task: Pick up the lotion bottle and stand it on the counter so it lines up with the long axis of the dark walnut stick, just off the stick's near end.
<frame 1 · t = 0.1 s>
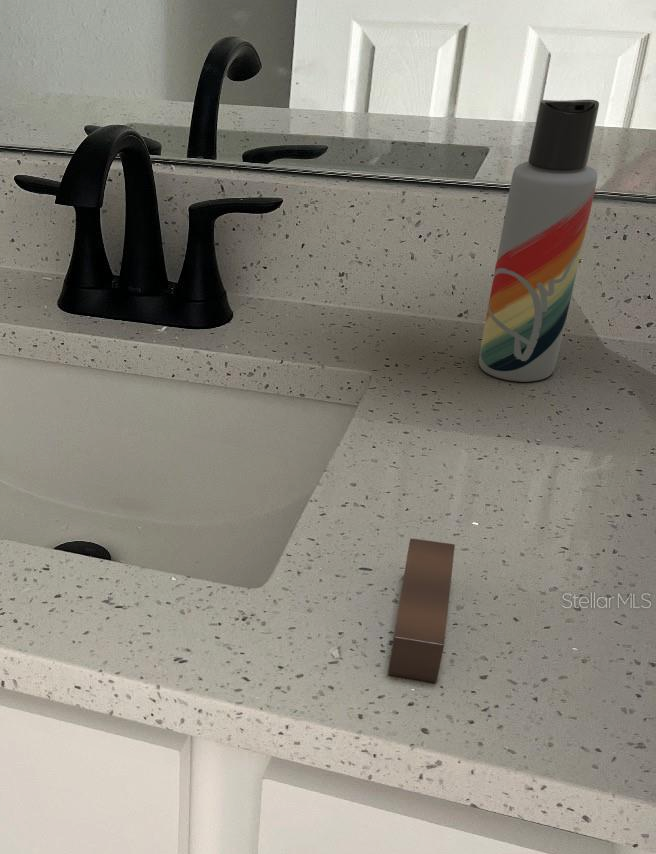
lotion bottle: (515, 370, 93), on the worktop
walnut stick: (419, 624, 66), on the worktop
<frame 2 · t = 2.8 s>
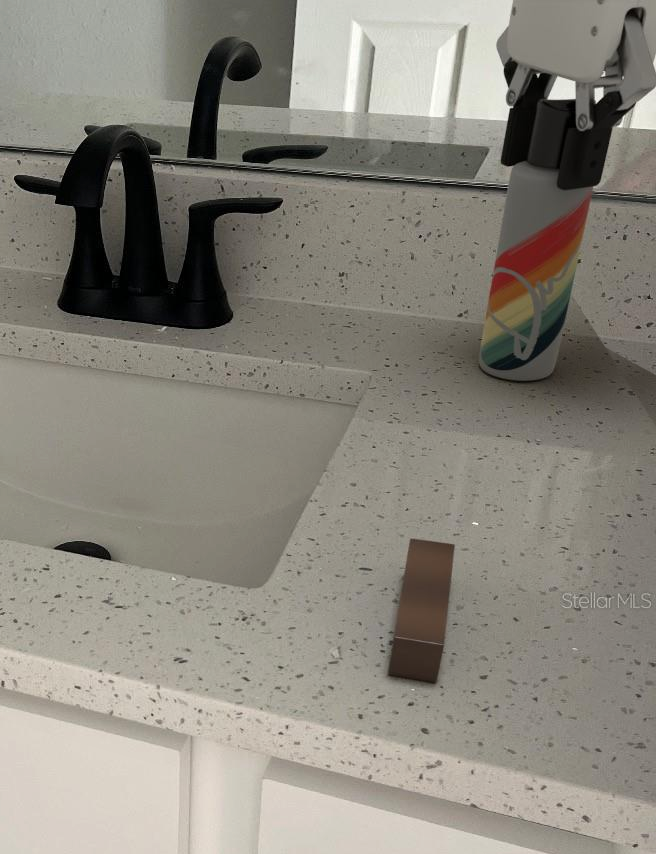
hand: (548, 172, 85), 15 cm above the worktop, tool pointing down, fingers closed on lotion bottle, 5 cm apart
lotion bottle: (515, 369, 93), on the worktop, touching gripper
everything else where it was.
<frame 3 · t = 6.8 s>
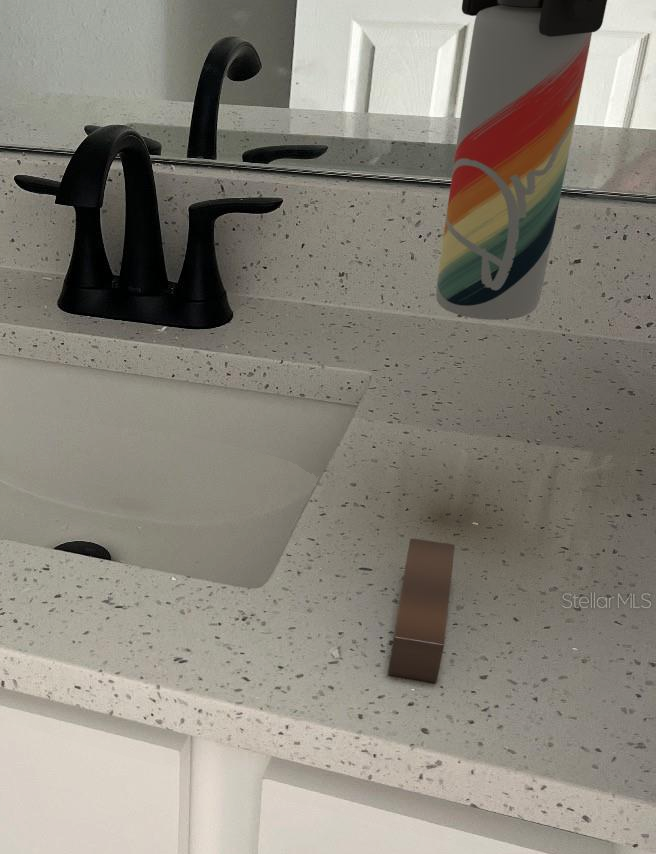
hand: (528, 18, 60), 29 cm above the worktop, tool pointing down, fingers closed on lotion bottle, 5 cm apart
lotion bottle: (485, 307, 68), point 14 cm above the worktop, touching gripper
everything else where it was.
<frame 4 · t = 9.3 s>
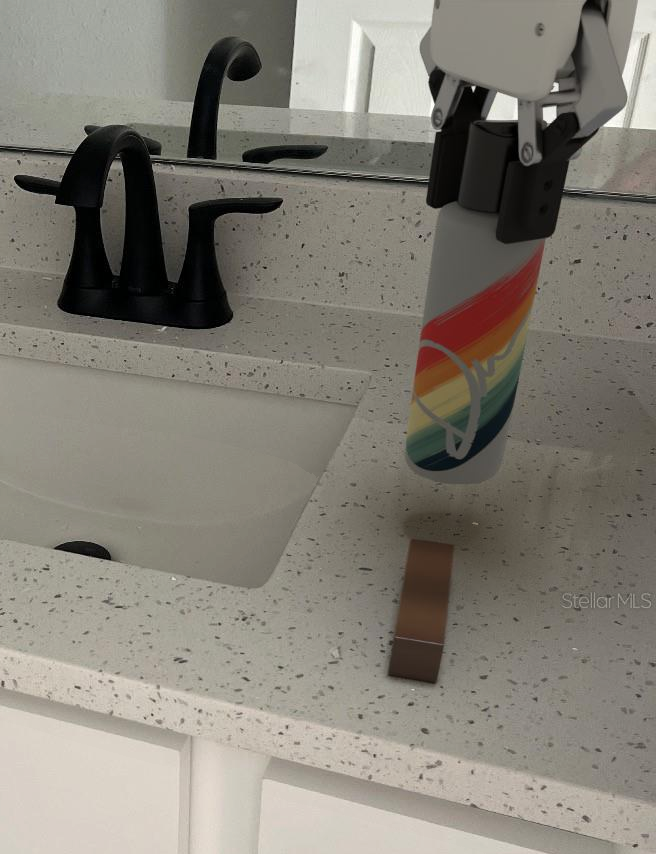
hand: (487, 217, 64), 19 cm above the worktop, tool pointing down, fingers closed on lotion bottle, 5 cm apart
lotion bottle: (451, 467, 72), point 4 cm above the worktop, touching gripper
everything else where it was.
when the fingers open (15 cm above the worktop, at t = 11.1 s): lotion bottle stays where it is, on the worktop.
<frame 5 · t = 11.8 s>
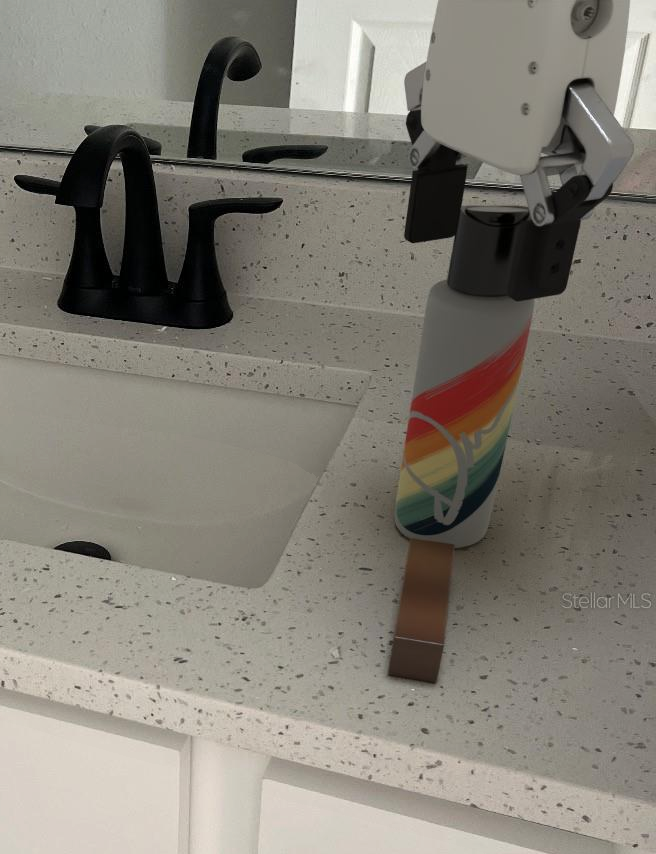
hand: (479, 265, 65), 17 cm above the worktop, tool pointing down, fingers open, 9 cm apart
lotion bottle: (439, 529, 75), on the worktop
everything else where it was.
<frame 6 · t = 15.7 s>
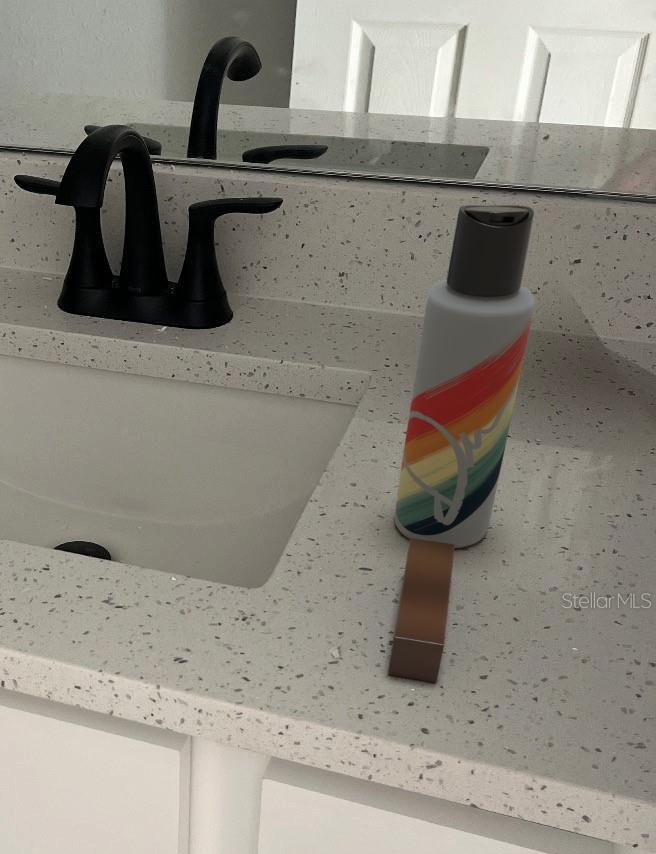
nothing on the worktop moved.
at the end: lotion bottle 0.4 cm from the target spot on the worktop beside the walnut stick, on the worktop; lotion bottle tilted 0°; walnut stick moved 0.0 cm from its start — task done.
